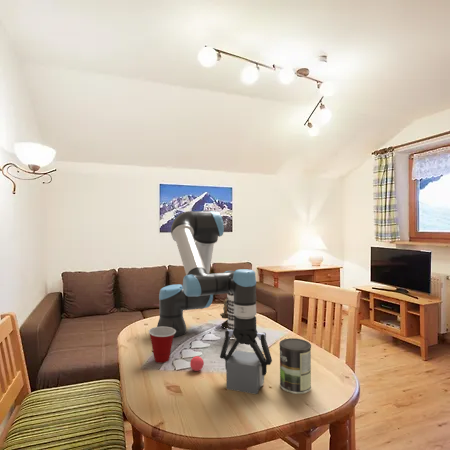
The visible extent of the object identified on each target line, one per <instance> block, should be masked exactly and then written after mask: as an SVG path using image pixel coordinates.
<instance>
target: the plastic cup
mask: <svg viewBox="0 0 450 450" xmlns="http://www.w3.org/2000/svg"><path fill="white" fill-rule="evenodd" d="M175 332H176V330H175V329H173V328H171V327H164V326H161V327H157V326H155V327H151V328H149V330H148V334H149V337H150V342H151V347H152V353H153V358H154V361H155V362H156V363H160V364H161V363H166V362H169V360H170V358H171V352H172V346H173V340H174V338H175V337H174V334H175Z"/></svg>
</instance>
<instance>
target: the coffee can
mask: <svg viewBox="0 0 450 450" xmlns="http://www.w3.org/2000/svg"><path fill="white" fill-rule="evenodd" d="M278 344H279V386H280V388H281V389H282V390H283V391H285V392H287V393H290V394H293V395H304V394H307V393H309V392H310V391H311V390H312V372H311V371H312V365H311V363H312V354H311V353H312V352H311V349H312V344H311V342H309V341H307V340H305V339H303V338H302V339H301V338H293V337H292V338H291V337H290V338H284V339H282V340H280V341H279V343H278Z"/></svg>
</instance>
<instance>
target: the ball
mask: <svg viewBox="0 0 450 450" xmlns="http://www.w3.org/2000/svg"><path fill="white" fill-rule="evenodd" d="M204 363H205V362H204V359H203V358H202V357H201V356H198V355H197V356H193V357H191V360H190V362H189V365H190V368H191V370H193V371H195V372H199V371H201V370H202V369H203V368H204Z"/></svg>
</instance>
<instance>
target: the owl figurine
mask: <svg viewBox="0 0 450 450" xmlns="http://www.w3.org/2000/svg"><path fill="white" fill-rule="evenodd" d="M226 301H227V300H226V299H224V301H223V307H222V308H223V312H222V313H219V315H220V317H221V318H222V319H227V320H225V321H223V322H222V323H221V327H222V326H223V327H225V328H228V327H227V325H228V324H227V322H228V313H227V305H228V304H227V303H226ZM223 327H222V328H223ZM225 328H224V329H225Z"/></svg>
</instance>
